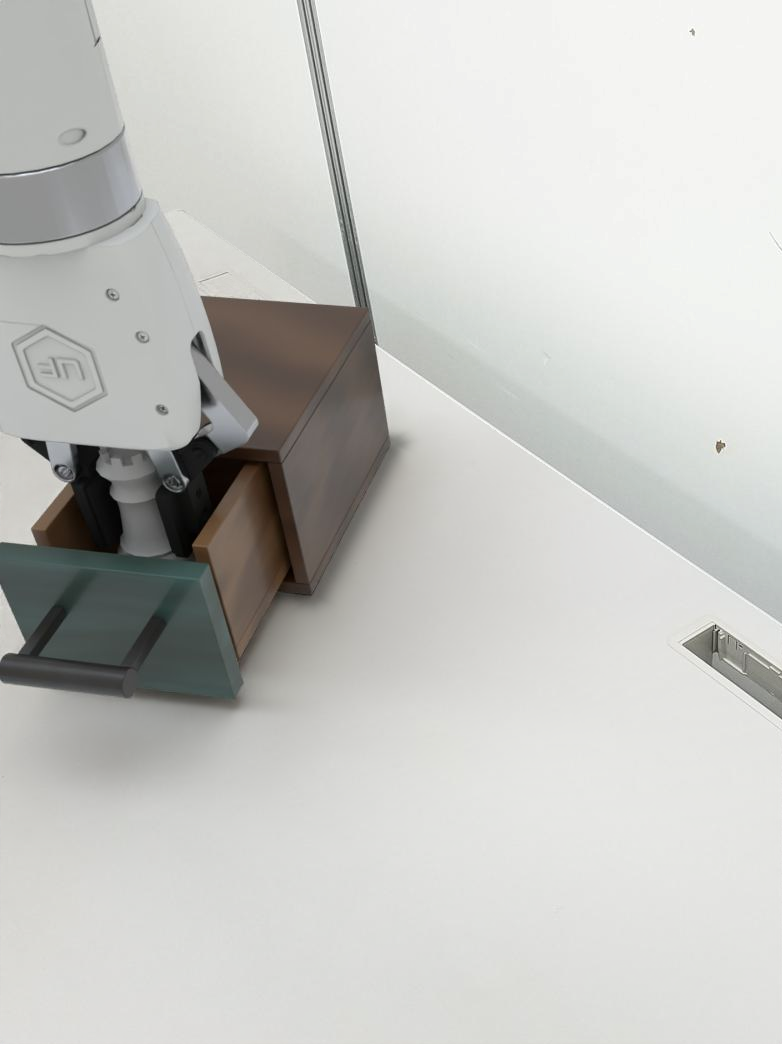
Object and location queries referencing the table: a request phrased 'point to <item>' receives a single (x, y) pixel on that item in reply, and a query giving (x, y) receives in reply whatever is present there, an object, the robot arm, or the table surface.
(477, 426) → the table surface
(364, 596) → the table surface
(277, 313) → the cabinet
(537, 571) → the table surface
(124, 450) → the rook chess piece
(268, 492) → the drawer
